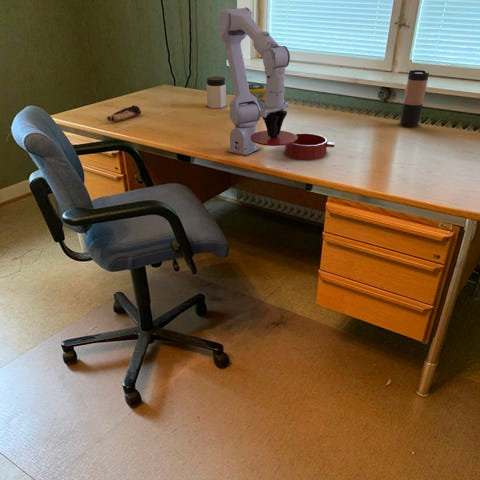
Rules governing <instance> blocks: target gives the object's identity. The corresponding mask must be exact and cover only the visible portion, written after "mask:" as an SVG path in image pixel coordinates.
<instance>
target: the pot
mask: <svg viewBox="0 0 480 480" xmlns="http://www.w3.org/2000/svg"><path fill="white" fill-rule="evenodd" d="M294 134H295V135H296V136H297V141H296V142H294V143H292V144H288V145H284V146H285V147H284V152H285V155H286V156H287V157H289V158H291V159H294V160H298V161H315V160H320V159H322V158H324V157H325V156H327V155H326V154H327V150H328V149H327V148H334V147H335V145H336V142H334V141H328V139H327V137H326V136H323V135H321V134H316V133H309V132H303V133H302V132H301V133H294Z"/></svg>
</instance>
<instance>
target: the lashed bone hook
mask: <svg viewBox="0 0 480 480" xmlns="http://www.w3.org/2000/svg"><path fill="white" fill-rule="evenodd" d="M141 114H142V109H141V108H140V107H139V106H138V105H134V104H133V105H131V106H128V107H124V108H122V109H119V110H117V111H116V112H114V113H113V114H111V115H108V116H107V117H106V118H107V121H109V122H119V121H126V120H128V119H132V118H135V117H137V116H139V115H141Z"/></svg>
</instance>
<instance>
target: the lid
mask: <svg viewBox="0 0 480 480" xmlns="http://www.w3.org/2000/svg"><path fill="white" fill-rule="evenodd" d="M295 134H296V133H293V132H290V131H285V130H280V133H279V135H278V125H276V132H275V137H269V136H268V133H267V130H261V131H256V133H254V134H252V135H251V138H250V139H251V141H253V142H254V143H255V144H258V145H261V146H268V147H281V146H285V145H288V144H292V143H294V142H296V141H297V136H296V135H295Z"/></svg>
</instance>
